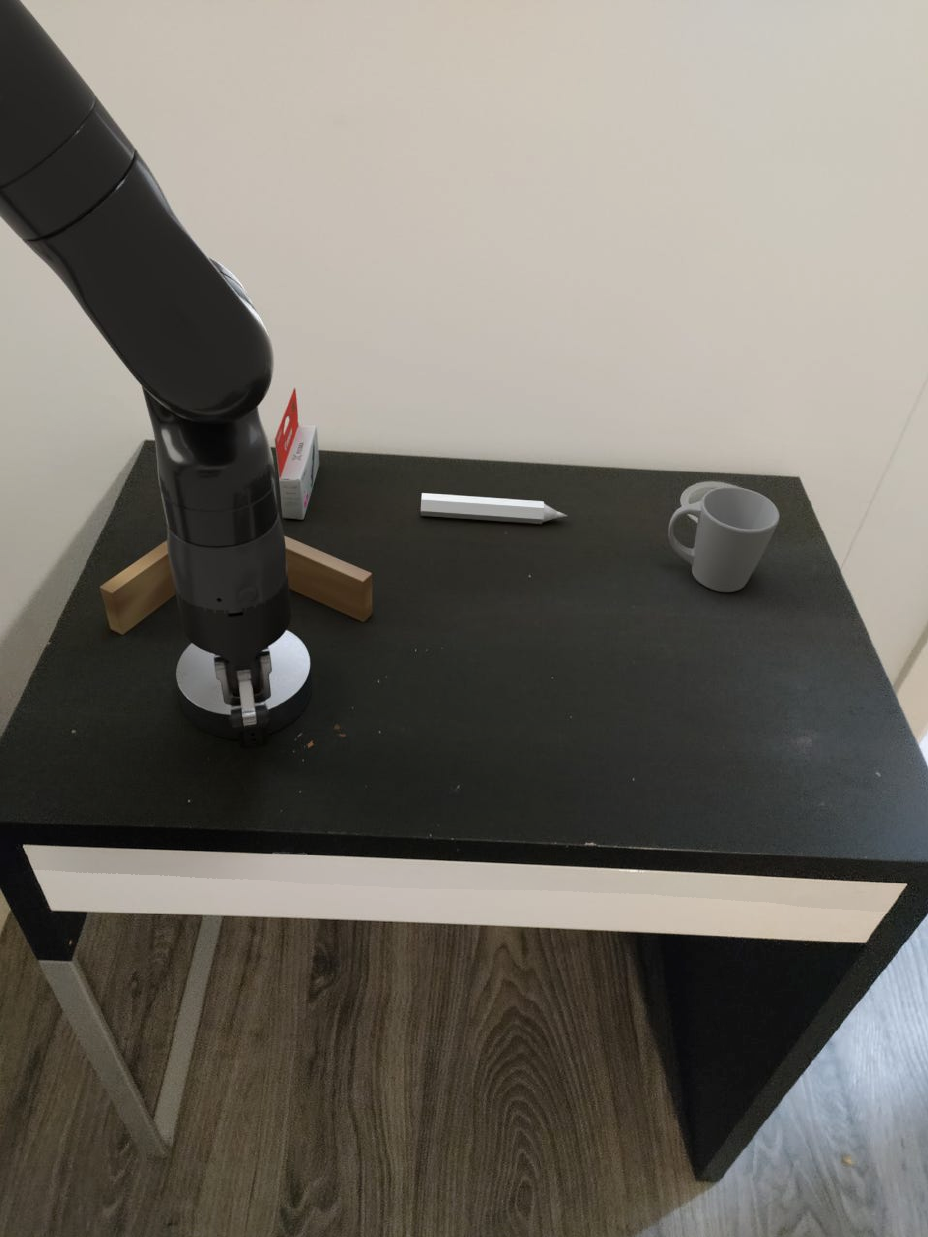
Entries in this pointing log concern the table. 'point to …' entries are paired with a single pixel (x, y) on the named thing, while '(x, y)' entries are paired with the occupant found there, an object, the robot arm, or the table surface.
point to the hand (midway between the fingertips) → (253, 740)
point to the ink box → (296, 462)
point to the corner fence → (307, 575)
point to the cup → (727, 536)
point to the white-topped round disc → (213, 714)
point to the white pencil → (487, 508)
